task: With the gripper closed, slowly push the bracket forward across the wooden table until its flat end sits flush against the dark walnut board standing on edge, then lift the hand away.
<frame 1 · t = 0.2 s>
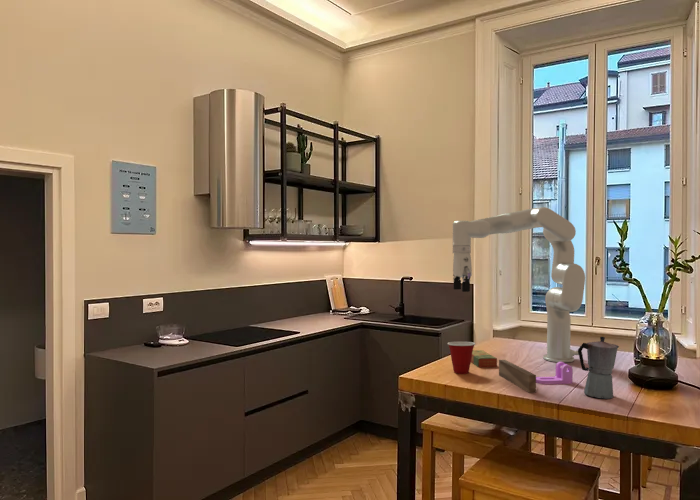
hand: (461, 290, 227), 31 cm above the table, tool pointing down, fingers open, 9 cm apart
plastic cup: (461, 372, 213), on the table
bracket: (551, 382, 199), on the table
walnut board: (516, 383, 197), on the table
carton: (480, 364, 229), on the table
moka pot: (598, 396, 181), on the table
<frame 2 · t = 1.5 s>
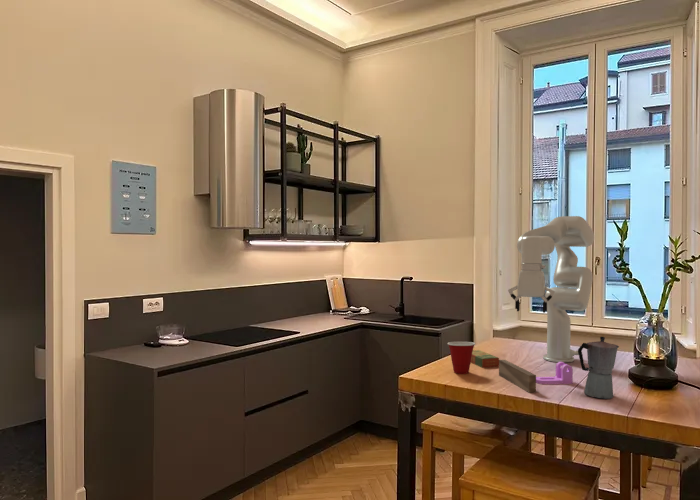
hand: (531, 311, 210), 24 cm above the table, tool pointing down, fingers open, 9 cm apart
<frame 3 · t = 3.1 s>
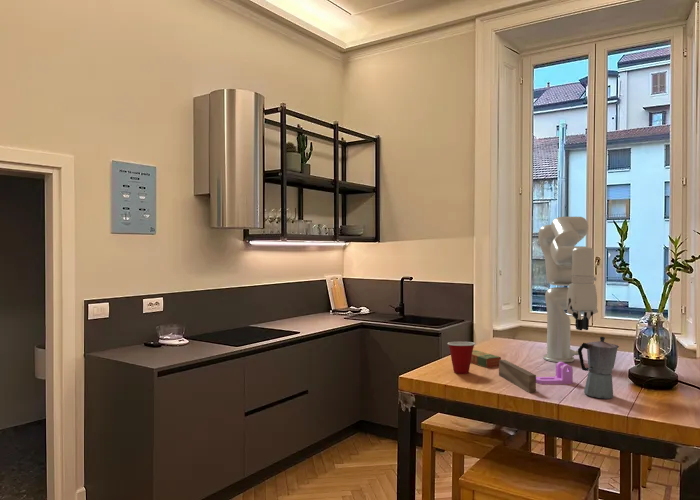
hand: (582, 329, 200), 19 cm above the table, tool pointing down, fingers closed
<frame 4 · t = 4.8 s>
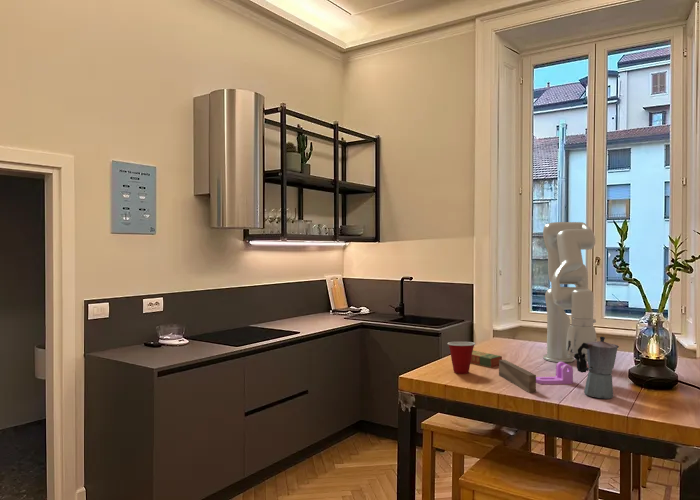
hand: (581, 371, 200), 3 cm above the table, tool pointing down, fingers closed
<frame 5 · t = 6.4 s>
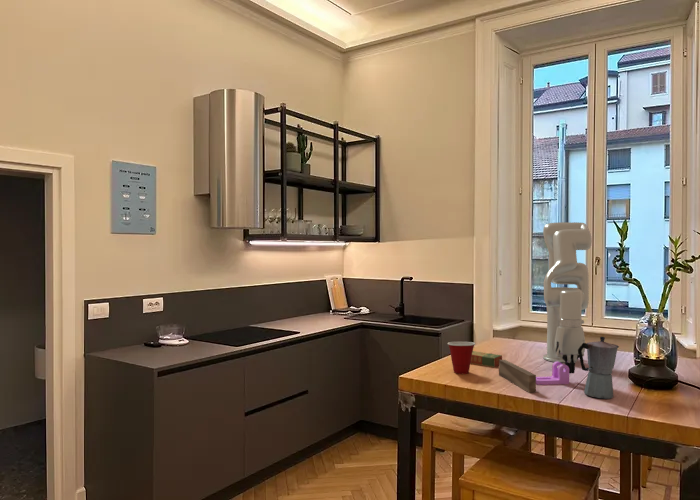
hand: (569, 372, 200), 3 cm above the table, tool pointing down, fingers closed
bracket: (548, 382, 198), on the table, touching gripper
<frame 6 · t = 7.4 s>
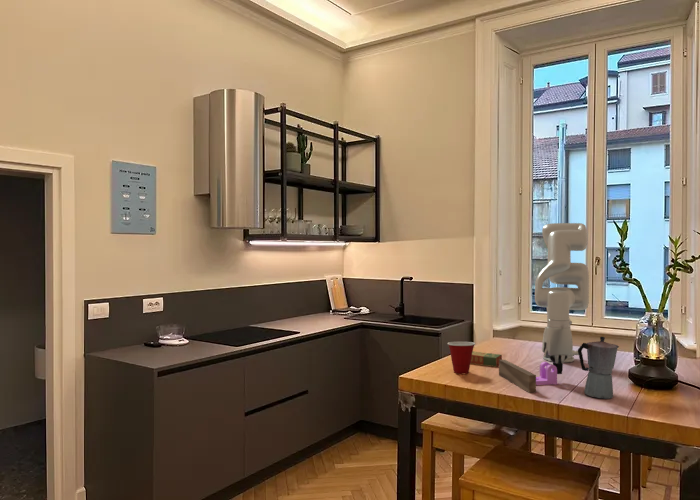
hand: (557, 373, 199), 3 cm above the table, tool pointing down, fingers closed
bracket: (536, 383, 197), on the table, touching gripper, walnut board
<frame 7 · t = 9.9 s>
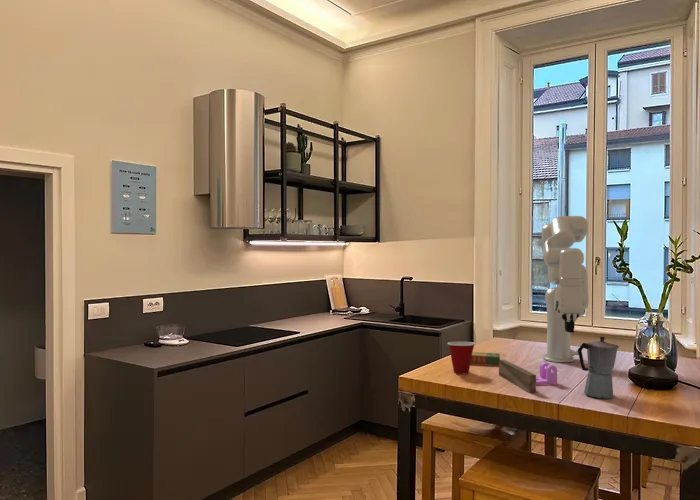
hand: (569, 331, 200), 18 cm above the table, tool pointing down, fingers closed
bracket: (536, 383, 197), on the table
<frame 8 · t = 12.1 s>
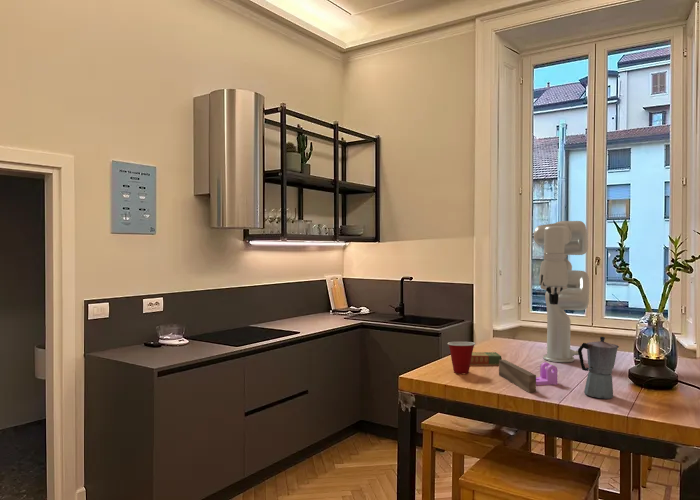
hand: (553, 304, 212), 27 cm above the table, tool pointing down, fingers closed
at the end: bracket 0.4 cm from the target spot on the table beside the walnut board, on the table; bracket tilted 0° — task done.
